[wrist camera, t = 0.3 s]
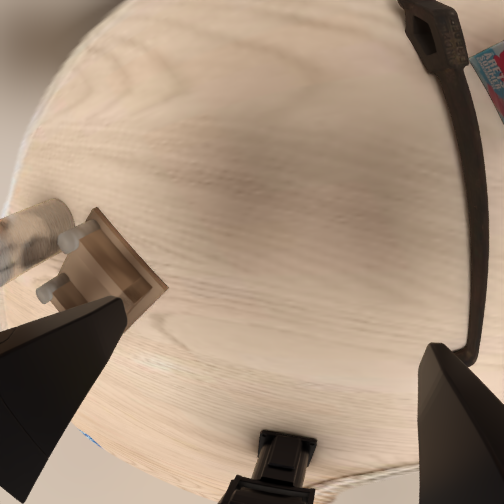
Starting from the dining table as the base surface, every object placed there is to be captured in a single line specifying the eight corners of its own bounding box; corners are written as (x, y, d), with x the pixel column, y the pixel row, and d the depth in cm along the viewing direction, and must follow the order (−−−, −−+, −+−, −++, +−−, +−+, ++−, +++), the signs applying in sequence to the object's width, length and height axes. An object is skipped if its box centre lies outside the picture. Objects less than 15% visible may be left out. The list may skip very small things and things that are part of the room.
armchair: (168, 288, 27) (140, 314, 23) (115, 341, 32) (91, 365, 28) (97, 207, 26) (61, 221, 22) (59, 277, 31) (32, 294, 27)
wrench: (418, 354, 25) (347, -4, 15) (466, 342, 24) (413, -11, 13) (430, 396, 20) (355, -36, 10) (483, 380, 19) (437, -38, 8)
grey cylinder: (82, 226, 27) (-34, 288, 15) (64, 258, 30) (-33, 320, 17) (52, 187, 27) (-61, 232, 14) (38, 222, 29) (-60, 271, 17)
